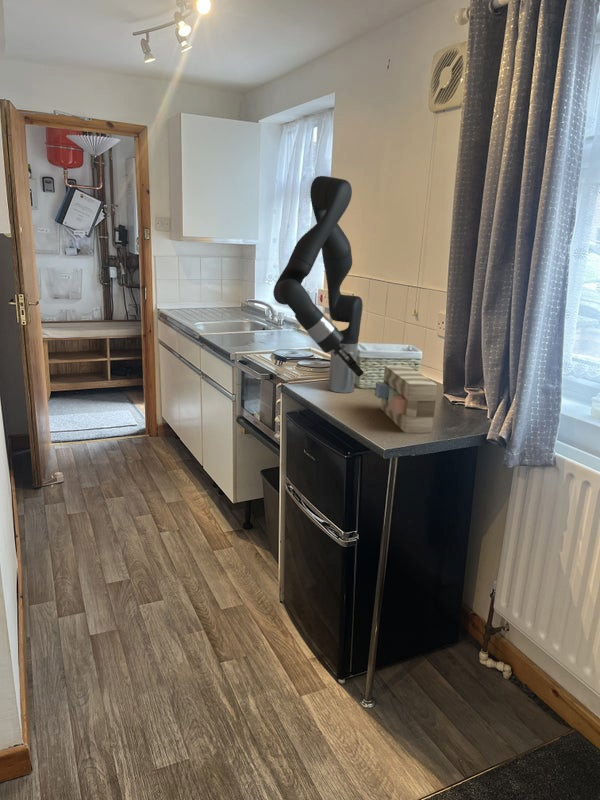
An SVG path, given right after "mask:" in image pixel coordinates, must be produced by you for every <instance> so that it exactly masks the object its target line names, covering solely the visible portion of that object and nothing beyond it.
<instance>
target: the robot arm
mask: <svg viewBox="0 0 600 800" xmlns="http://www.w3.org/2000/svg"><path fill="white" fill-rule="evenodd" d="M309 193H310V194H309V195H310V202H311V207H312V210H313V215H314V219H315V222H316V223H315V224H314V225H313V226H312V227H311V228H310V229H308V231H306V232H305V233H304V234H303V235H302V236H301V237H300V238H299V240H298V241H297V243H296V244H295V246H294V248H293V251H292V252H291V255H290V257H289V260H288V262H287V264H286V266H285V268H284V269H283V270H282V273H281V275H280V276H279V278H278V279H277V280H276V282H275V284H274V287H273V298H274V299H275V300H274V301H276V302H277V303H278V304H280V305H287V306H288V307H289V308H290V309H291V311H293V313H294V318H295V319H296V321H297V322H298V323H299V324H300V326H302V328H303V329H304V330H305V331H306V333H307V334H308V335H309V336H310V338H311V339H312V341H314V342H315V344H317V346H318V347H319V348H320V349H321V350H322V351H323V352H324V353H330V360H329V373H328V387H327V389H328V390H329V391H331V392H334V393H342V394H344V393H345V394H346V393H354V391H355V385H356V384H355V374H356V375H357V376H358V377H360V376H361V375H362V374H363V373H364V372H363V371H362V370H361V368H360V367H359V366H358V365H357V363H356V362H357V350H358V343H359V338H360V337H359V336H360V329H361V322H362V315H363V308H364V307H363V306H364V305H363V304H364V303H363V300H362V298H361V297H360V296H357V295H348V294H342V293H341V290H340V289H341V286H342V283H343V282H344V280H345V279H346V277H347V276H348V274H349V273H350V271H351V269H352V266H353V253H352V247H351V243H350V240H349V239H348V237H347V236H346V234H345V233H344V230H343V229H342V228H341V226H340V225H339V224H338V223H339V222H340V220H341V218H342V216H343V215H344V214H345V212H346V210H347V209H348V207H349V204H350V202H351V200H352V195H353V189H352V185H351V183H350V182H349V181H348V180H347V179H343V178H339V177H333V176H332V177H331V176H326V175H319V176H316V177H315V178H314V179H313V181H312V182H311V184H310V192H309ZM320 251H321V255H322V261H323V266H324V273H325V278H326V286H327V299H328V311H329V317H330V318H331V320H332V321H335V322H338V323H339V322H340V323H348V326H347V327H346V328H345V329H342V330H339V329H338V328H337V326H335V324H334V323H333V322H332V321H331V320H330V319H329V318H328V317H327V316H326V315H325V314H324V312H322V311H321V310H320V309H319V307H318V306H317V305H316V304H315V303H314V302H313V300H312V298H311V296H310V295H309V293H308V291H307V290H306V289H305V287H304V286H303V285H302V283H303V282H304V279H305V278H306V277H308V276H309V274H310V273H311V271H312V269H313V267H314V265H315V262H316V261H317V259H318V256H319V253H320Z"/></svg>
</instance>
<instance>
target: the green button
mask: <svg viewBox="0 0 600 800" xmlns="http://www.w3.org/2000/svg"><path fill="white" fill-rule="evenodd" d="M397 393H398V391H396V390H395V389H389V398H388V402H389V403H391V396H397Z"/></svg>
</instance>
